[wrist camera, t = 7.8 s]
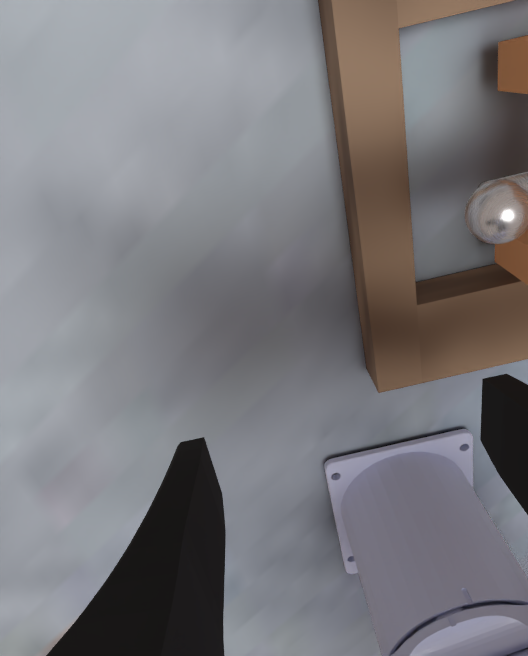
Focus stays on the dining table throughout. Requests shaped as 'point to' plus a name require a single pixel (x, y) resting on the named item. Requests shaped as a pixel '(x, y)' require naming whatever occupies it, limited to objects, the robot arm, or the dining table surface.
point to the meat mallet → (499, 209)
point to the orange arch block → (522, 77)
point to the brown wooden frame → (405, 213)
